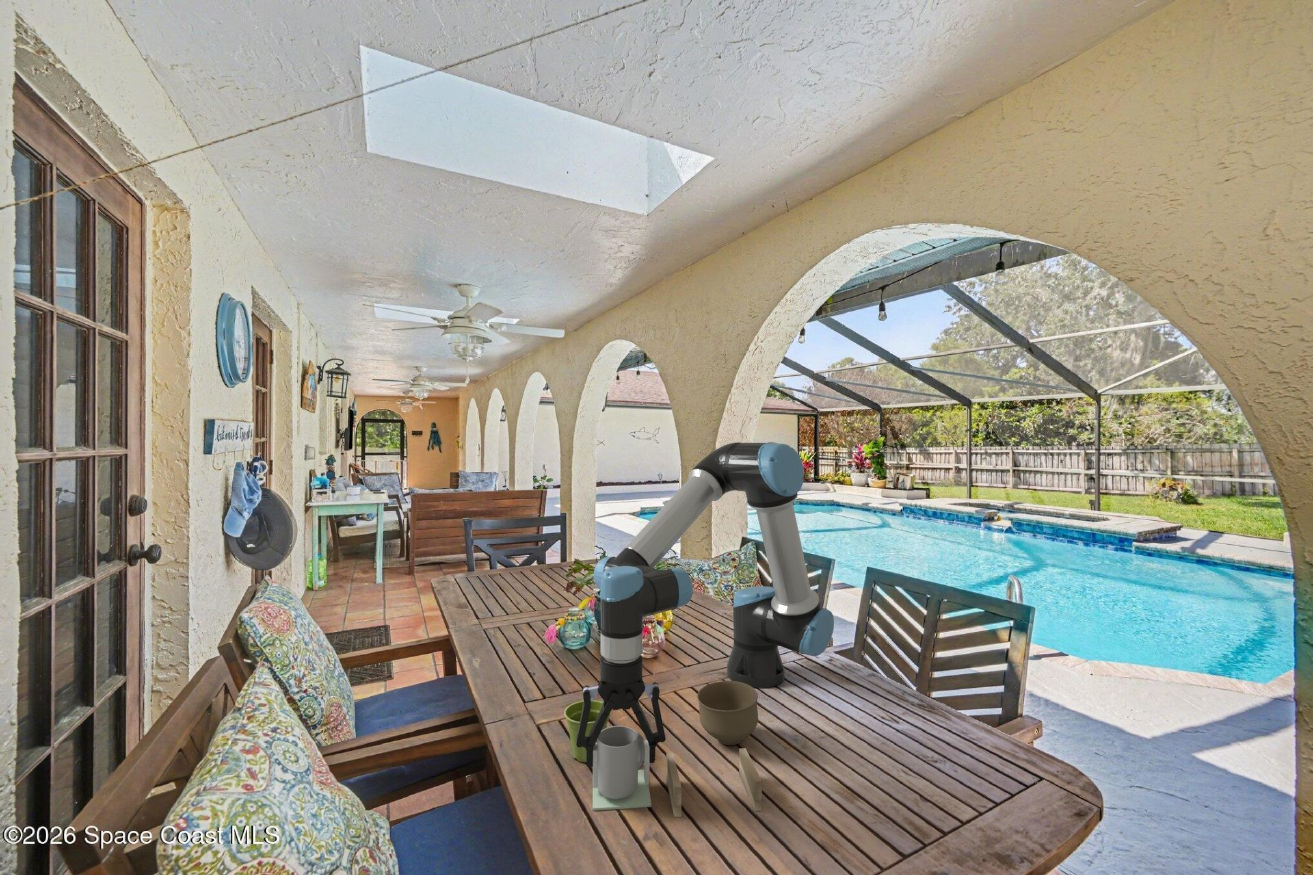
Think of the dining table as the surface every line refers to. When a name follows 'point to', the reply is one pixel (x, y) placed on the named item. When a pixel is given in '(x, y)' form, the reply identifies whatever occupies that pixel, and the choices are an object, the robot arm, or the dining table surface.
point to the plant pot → (573, 720)
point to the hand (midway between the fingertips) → (620, 781)
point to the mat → (633, 801)
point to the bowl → (728, 710)
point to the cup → (618, 761)
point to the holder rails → (745, 772)
